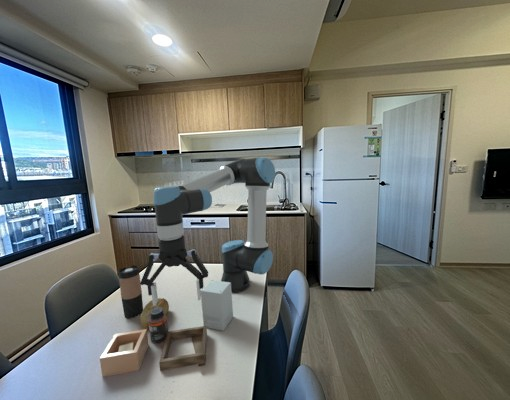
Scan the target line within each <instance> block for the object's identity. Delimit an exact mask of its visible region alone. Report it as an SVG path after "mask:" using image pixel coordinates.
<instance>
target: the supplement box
mask: <svg viewBox="0 0 510 400" xmlns="http://www.w3.org/2000/svg"><path fill="white" fill-rule="evenodd" d="M200 300H201V310H202V311H201V312H202V321H203V326H206V328H207V329H208V328H209V329H214V330H218V331H225V329H226V328H227V327H228V325H229V324H230V322H231V321H232V320H233V317H234V310H233V293H232V291H231V282H222V281H221V280H213V279H212V280H211V281H209V283H207V284H206V285H205V286H203V289H201V299H200Z"/></svg>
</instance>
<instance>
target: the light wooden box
mask: <svg viewBox="0 0 510 400" xmlns="http://www.w3.org/2000/svg"><path fill="white" fill-rule="evenodd" d="M148 338H149V337H148V330H147V329H139V330H138V329H137V330H133V331H132V330H131V331H126V332H120V333H118V332H117V333H114V334H113V336H112V337H111V339H110V340H109V342H108V344H107V346H106V348H105V349H104V351H102V352H103V353H102V354H101V356H100V357H99V363H100V370H101V377H102V378H103V377H109V376H115V375H119V374H120V375H122V374H125V373H131V372H132V373H133V372H136V371H137V372H138V371H140V368H141V366H142V363H143V360H144V359H145V356H146V352H147V350H148V348H149V339H148ZM131 342H133V343H134V350H129V351H123V352H118V351H119V346H122V345H125V344H128V343H131Z"/></svg>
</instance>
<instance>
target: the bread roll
mask: <svg viewBox="0 0 510 400" xmlns="http://www.w3.org/2000/svg"><path fill="white" fill-rule="evenodd" d="M158 307H161V308H162V309H163V312H164V313H165V314H166V315H167V313H168V312H169V308H170V304H169V301H168V300H167V299H165V298H164V297H163V298H160V297H158V302H157V304H156V306H153V300H150V301H149V302H147V304H146V305H145V306H143V311H142V313H141V314H140V317H139V320H140V321H139V322H140V325H141V328H142V330H144V329H147V331H150V329H149V318H150V316H151V311H152V310H153V309H154V308H158Z"/></svg>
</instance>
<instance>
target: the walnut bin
mask: <svg viewBox="0 0 510 400" xmlns="http://www.w3.org/2000/svg"><path fill="white" fill-rule="evenodd" d="M207 329H208V328H207V327H206V326H204V325H203V326H202V325H201V326H195V327H188V328H181V329H176V330H168V334H167V337H166V340H165V341H164V345H163V348H162V351H161V355H160V357H159V358H160V359H159V362H158V364H159V366H158V367H159V371H167V370H172V369H177V368H178V369H179V368H184V367H189V366H195V365H198V367H202V366H206V361H207V341H208V339H207V338H208V331H207ZM187 338H189V339H190V338H191V341H192V345H193V350H194V353H191V354H185V355H179V356H175V357H173V356H172V357H168V354H169V350H170V348H171V343H172V341H176V340H183V339H187Z"/></svg>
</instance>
